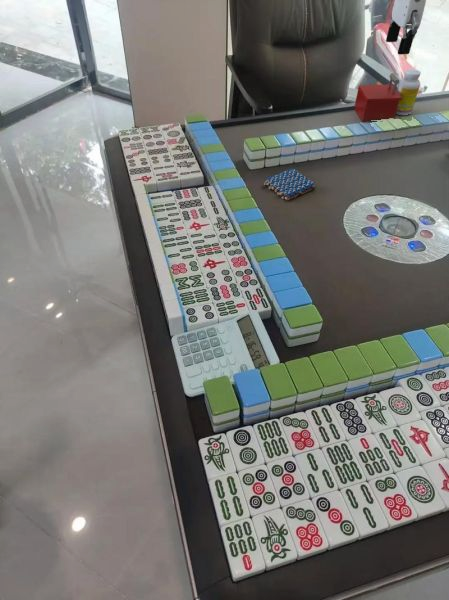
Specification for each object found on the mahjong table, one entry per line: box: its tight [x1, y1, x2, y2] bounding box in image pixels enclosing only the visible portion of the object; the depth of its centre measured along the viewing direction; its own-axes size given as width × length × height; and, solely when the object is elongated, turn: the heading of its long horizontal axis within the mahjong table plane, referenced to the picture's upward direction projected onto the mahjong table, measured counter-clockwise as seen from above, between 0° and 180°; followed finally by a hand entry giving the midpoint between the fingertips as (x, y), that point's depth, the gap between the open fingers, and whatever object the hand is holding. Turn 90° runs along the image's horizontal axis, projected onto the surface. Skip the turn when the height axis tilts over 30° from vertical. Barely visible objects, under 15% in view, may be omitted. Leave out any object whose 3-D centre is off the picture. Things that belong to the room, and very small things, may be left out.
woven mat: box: [263, 168, 317, 201], centre depth 117 cm, size 10×11×2 cm
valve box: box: [353, 87, 399, 123], centre depth 143 cm, size 10×10×7 cm
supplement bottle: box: [395, 68, 422, 116], centre depth 141 cm, size 7×7×13 cm
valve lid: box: [358, 72, 402, 101], centre depth 138 cm, size 11×10×5 cm
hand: (397, 47), depth 123 cm, fingers open, 9 cm apart
